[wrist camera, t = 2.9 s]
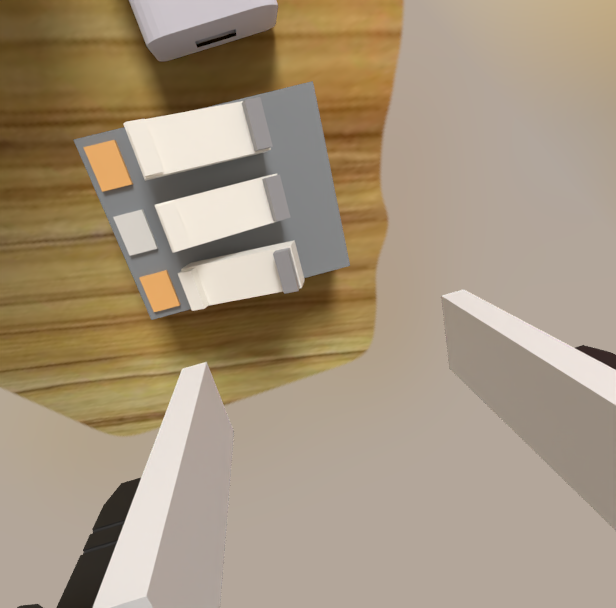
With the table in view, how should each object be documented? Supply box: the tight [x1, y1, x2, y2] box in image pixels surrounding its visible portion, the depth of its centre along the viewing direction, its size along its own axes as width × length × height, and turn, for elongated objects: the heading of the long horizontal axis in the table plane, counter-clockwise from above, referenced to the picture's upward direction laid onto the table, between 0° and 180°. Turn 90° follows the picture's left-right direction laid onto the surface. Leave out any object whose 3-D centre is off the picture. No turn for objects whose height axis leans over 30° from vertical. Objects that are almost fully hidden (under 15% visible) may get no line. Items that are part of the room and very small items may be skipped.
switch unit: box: [74, 81, 350, 320], centre depth 28 cm, size 16×13×7 cm
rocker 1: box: [123, 97, 273, 181], centre depth 22 cm, size 8×3×2 cm, turn 104°
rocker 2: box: [155, 173, 290, 253], centre depth 24 cm, size 8×3×2 cm, turn 104°
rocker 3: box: [178, 240, 305, 311], centre depth 25 cm, size 8×3×2 cm, turn 103°
